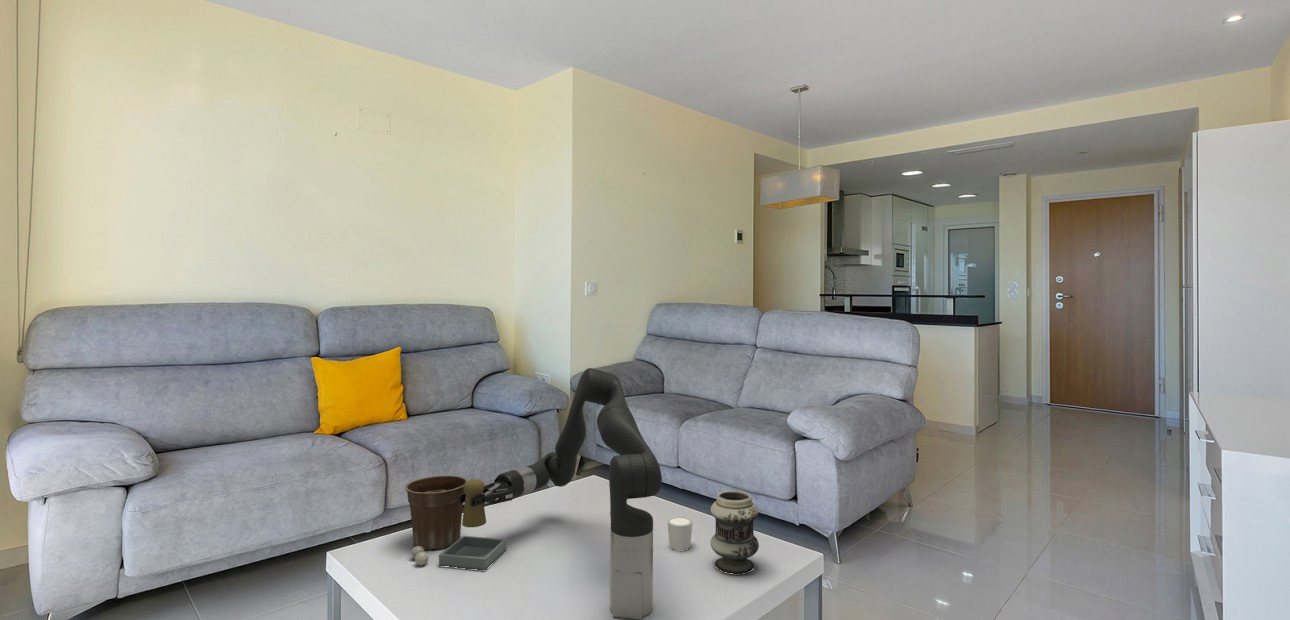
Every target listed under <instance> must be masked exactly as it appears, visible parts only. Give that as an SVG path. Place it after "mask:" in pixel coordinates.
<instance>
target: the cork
mask: <svg viewBox="0 0 1290 620" xmlns="http://www.w3.org/2000/svg"><path fill="white" fill-rule="evenodd" d="M484 484H485V483H484V481H483V480H481V479H479V478H478V479H477V478H476V479H475V478H474V479H473V478H472V479H469V480H467V482H465V484H464V487H463V489H464V493H465V494H466V496H465V502H464V503H463V511H462V521H461V526H463V527H464V528H479V527H482V526H484V525H485V524H487V515H486V510H485V504H484V503H483V504H480V505H477V506H474V507H471V506H470V498H472V497H475V496H478V495H481V494H483V491H484Z"/></svg>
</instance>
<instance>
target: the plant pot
mask: <svg viewBox="0 0 1290 620" xmlns="http://www.w3.org/2000/svg"><path fill="white" fill-rule="evenodd" d="M467 481H468V480H467V478H465V477H462V476H457V475H434V476H426V477H423V478H419V479H415V480H413V481H411V482H408V483H407V484H406V485H405V487H404V488H405V491H406V494H407V501H408V503H409V508H410V509H409V510H410V511H409V512H410V518H411V519H410V520H411V530H412V539H413V540H412V543H413V546H414V547H416V546H421V547H423V549H427V550H426V551H433V550H432V549H437V550H441V548H442V549H447V548H448V547H450V546H451V545H452V544H453V543H455V542H456V541H457V540H458V539H460V538H461V531H462V520H463V511H464V502H463V503H459V502H458V495H459V494H462V493H464V489H463V487H464V484H465V482H467Z"/></svg>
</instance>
